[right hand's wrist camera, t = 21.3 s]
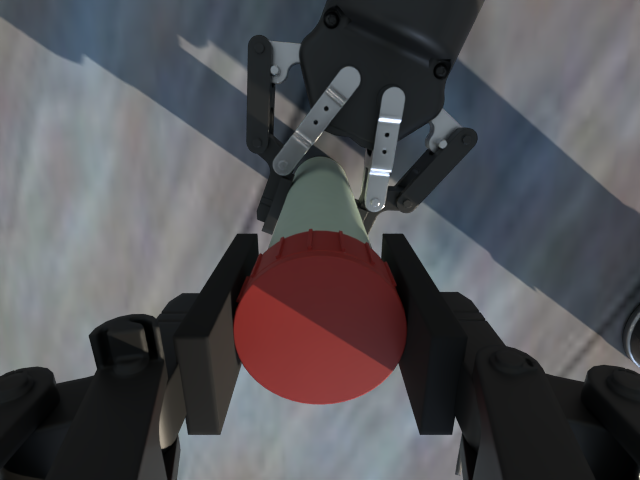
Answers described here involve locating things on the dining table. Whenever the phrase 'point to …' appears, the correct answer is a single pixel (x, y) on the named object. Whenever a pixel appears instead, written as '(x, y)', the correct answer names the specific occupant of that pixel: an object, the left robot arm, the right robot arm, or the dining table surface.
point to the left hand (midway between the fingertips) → (303, 241)
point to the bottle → (320, 202)
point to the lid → (319, 319)
